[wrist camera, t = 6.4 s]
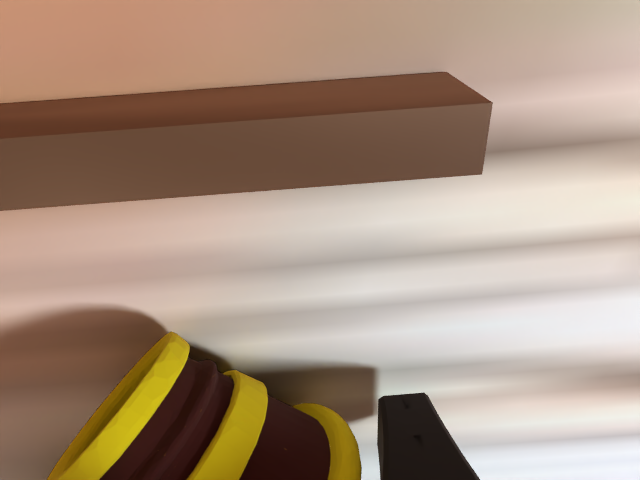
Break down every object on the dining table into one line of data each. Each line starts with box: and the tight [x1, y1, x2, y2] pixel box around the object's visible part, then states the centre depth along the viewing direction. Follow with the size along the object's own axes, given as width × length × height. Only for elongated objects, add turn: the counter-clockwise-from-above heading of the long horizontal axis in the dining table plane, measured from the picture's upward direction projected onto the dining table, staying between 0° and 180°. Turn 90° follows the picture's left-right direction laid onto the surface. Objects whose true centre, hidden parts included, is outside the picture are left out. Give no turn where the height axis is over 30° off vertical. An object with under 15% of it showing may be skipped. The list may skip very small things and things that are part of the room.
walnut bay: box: [0, 72, 493, 211], centre depth 11 cm, size 16×16×2 cm
